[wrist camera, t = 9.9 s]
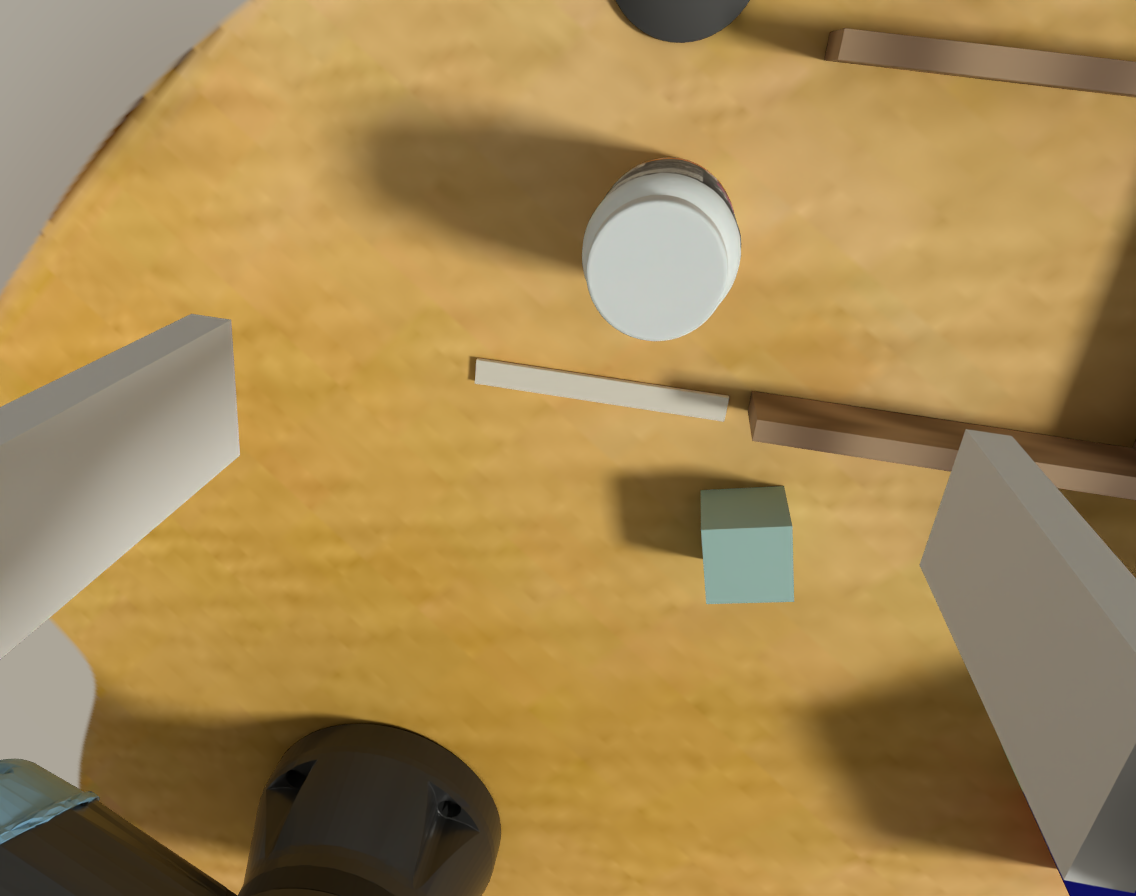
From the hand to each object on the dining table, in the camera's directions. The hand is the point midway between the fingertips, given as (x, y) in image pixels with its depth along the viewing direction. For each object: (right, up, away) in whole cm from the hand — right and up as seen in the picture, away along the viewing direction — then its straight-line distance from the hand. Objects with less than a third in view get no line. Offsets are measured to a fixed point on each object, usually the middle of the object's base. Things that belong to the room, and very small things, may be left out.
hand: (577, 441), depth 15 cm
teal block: (+9, -4, +27) cm, 28 cm away
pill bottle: (+4, +10, +21) cm, 24 cm away
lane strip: (+1, +3, +25) cm, 25 cm away
